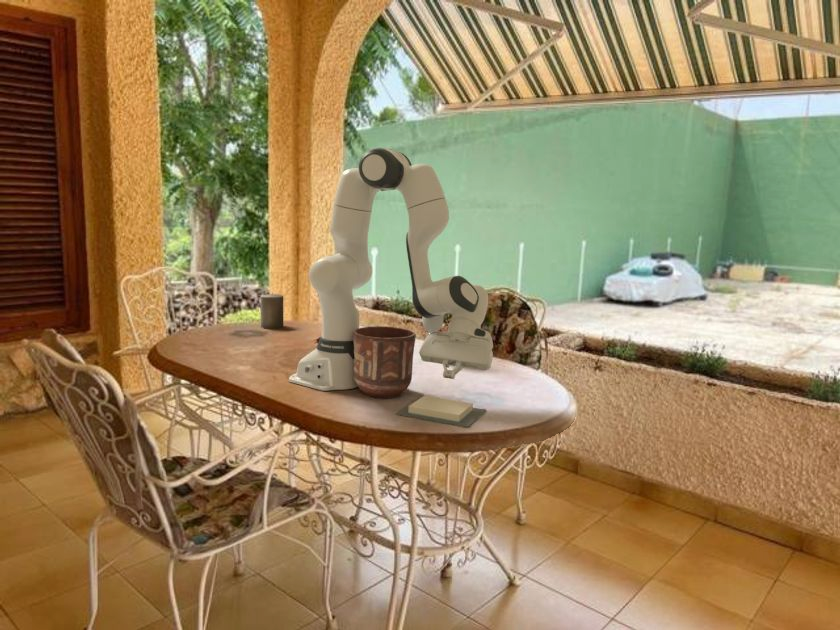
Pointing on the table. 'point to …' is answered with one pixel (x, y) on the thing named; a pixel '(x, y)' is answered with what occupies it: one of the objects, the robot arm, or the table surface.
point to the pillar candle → (272, 311)
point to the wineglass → (433, 323)
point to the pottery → (383, 360)
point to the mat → (463, 423)
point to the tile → (441, 408)
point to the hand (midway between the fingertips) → (448, 377)
